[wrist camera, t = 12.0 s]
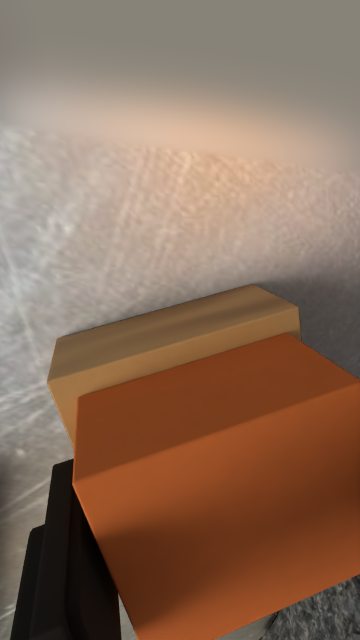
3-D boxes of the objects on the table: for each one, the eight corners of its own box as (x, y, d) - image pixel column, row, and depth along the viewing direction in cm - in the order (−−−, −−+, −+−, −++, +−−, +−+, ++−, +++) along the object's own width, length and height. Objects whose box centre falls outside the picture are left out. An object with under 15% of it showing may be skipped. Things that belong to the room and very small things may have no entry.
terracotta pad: (75, 396, 9) (70, 484, 6) (287, 331, 10) (365, 381, 7) (134, 553, 11) (150, 669, 8) (302, 486, 12) (367, 572, 9)
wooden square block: (56, 338, 11) (46, 382, 8) (252, 283, 12) (299, 306, 10) (114, 494, 14) (120, 567, 11) (273, 437, 15) (314, 490, 12)
